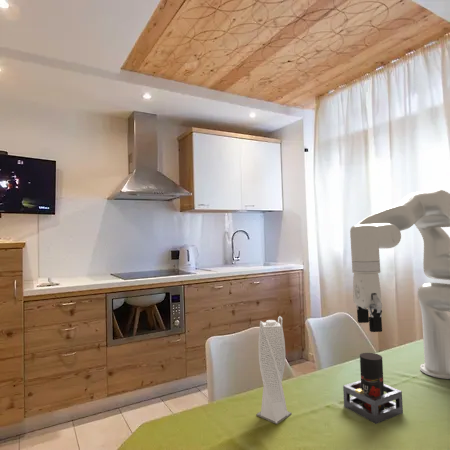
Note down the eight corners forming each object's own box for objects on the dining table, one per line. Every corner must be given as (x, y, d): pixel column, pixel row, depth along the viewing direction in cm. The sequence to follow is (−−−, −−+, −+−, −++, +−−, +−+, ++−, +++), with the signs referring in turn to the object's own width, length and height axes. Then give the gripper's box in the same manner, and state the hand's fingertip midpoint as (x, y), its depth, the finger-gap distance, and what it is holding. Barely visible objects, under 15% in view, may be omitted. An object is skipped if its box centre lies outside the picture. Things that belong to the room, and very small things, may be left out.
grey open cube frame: (370, 397, 104) (369, 375, 104) (402, 413, 94) (401, 389, 94) (343, 406, 99) (342, 383, 99) (375, 424, 89) (374, 398, 89)
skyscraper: (295, 416, 94) (291, 314, 96) (278, 428, 89) (274, 320, 90) (271, 406, 100) (268, 310, 102) (253, 417, 95) (250, 315, 96)
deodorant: (387, 408, 97) (385, 355, 97) (380, 417, 92) (378, 361, 93) (366, 402, 101) (364, 351, 101) (358, 410, 96) (356, 356, 97)
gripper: (343, 265, 107) (346, 319, 106) (363, 270, 90) (366, 336, 89) (368, 264, 107) (371, 319, 106) (392, 269, 89) (396, 335, 89)
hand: (369, 326), depth 98 cm, fingers open, 9 cm apart
